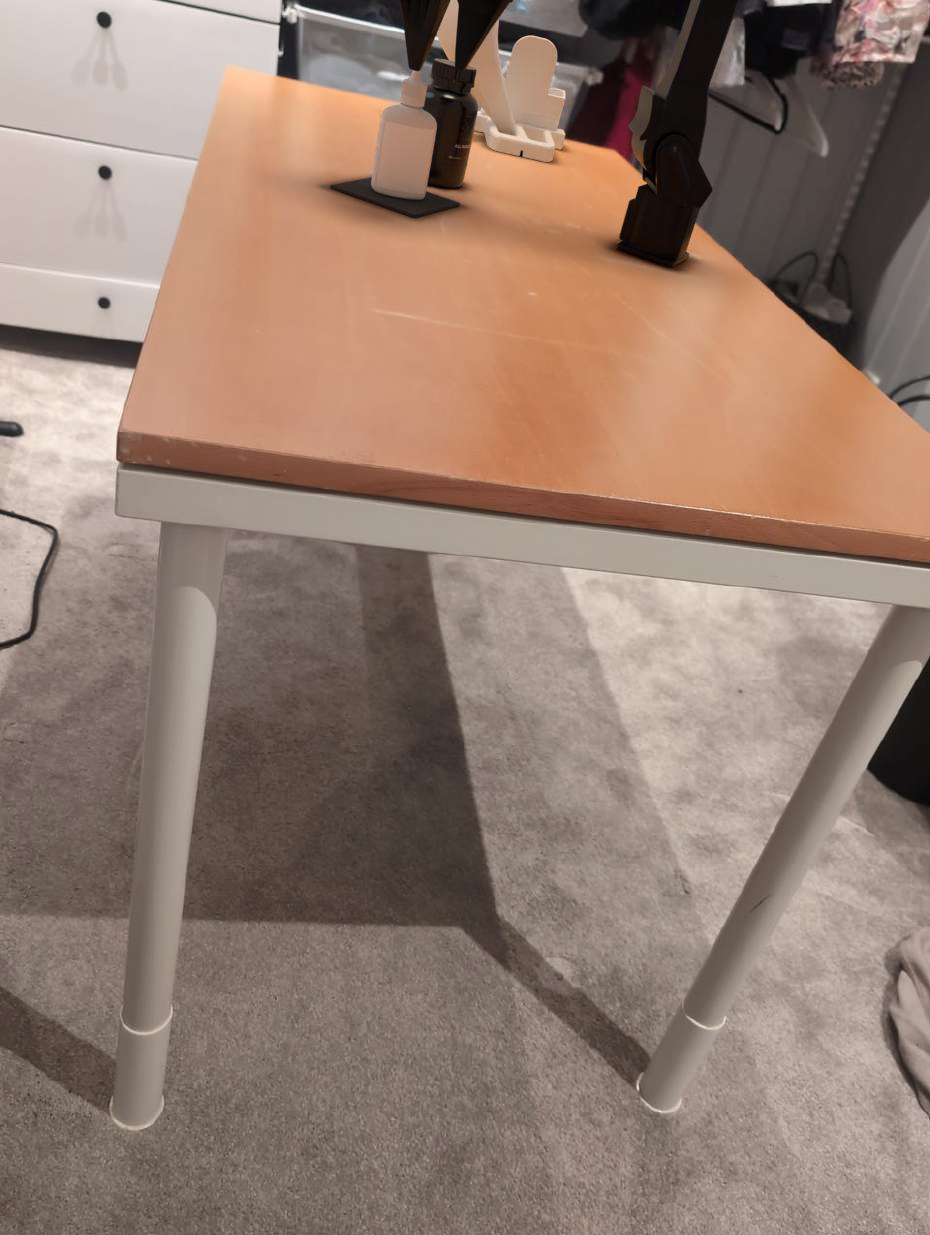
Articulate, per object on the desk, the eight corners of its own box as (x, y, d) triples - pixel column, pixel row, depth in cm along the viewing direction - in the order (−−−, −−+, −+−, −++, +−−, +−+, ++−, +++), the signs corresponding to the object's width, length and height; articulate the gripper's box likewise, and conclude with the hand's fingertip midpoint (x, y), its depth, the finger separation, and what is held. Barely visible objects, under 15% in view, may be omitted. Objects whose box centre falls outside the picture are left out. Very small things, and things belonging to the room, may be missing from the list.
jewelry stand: (559, 144, 152) (606, -51, 138) (569, 167, 140) (622, -46, 126) (393, 107, 149) (424, -97, 135) (388, 127, 136) (422, -96, 122)
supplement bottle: (462, 193, 114) (485, 75, 107) (402, 180, 113) (421, 60, 107) (463, 180, 120) (485, 66, 113) (406, 167, 119) (425, 52, 112)
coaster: (459, 205, 109) (460, 203, 109) (414, 217, 101) (414, 214, 101) (380, 178, 112) (380, 175, 112) (329, 188, 104) (330, 185, 104)
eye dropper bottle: (415, 205, 104) (437, 75, 98) (364, 190, 105) (383, 60, 98) (429, 198, 108) (451, 72, 101) (379, 183, 109) (398, 58, 102)
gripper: (441, -132, 99) (414, 48, 108) (334, -163, 85) (313, 48, 93) (543, -108, 96) (507, 75, 105) (451, -136, 81) (417, 80, 90)
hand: (437, 69), depth 98 cm, fingers open, 9 cm apart
